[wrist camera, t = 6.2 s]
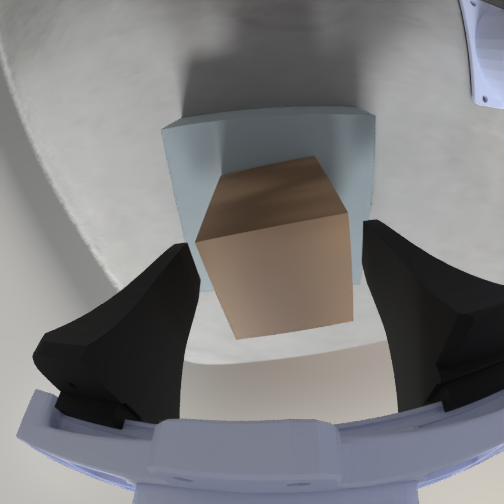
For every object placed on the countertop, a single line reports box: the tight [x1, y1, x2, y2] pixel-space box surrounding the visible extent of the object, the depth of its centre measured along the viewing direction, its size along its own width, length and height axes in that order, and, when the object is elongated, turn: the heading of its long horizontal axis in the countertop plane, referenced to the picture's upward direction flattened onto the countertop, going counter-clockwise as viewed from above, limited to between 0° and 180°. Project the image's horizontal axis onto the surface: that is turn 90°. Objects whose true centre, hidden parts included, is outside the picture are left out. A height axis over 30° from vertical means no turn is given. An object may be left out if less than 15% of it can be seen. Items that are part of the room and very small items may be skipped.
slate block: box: [161, 106, 375, 292], centre depth 16 cm, size 10×10×4 cm
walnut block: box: [195, 156, 353, 340], centre depth 12 cm, size 4×4×6 cm
